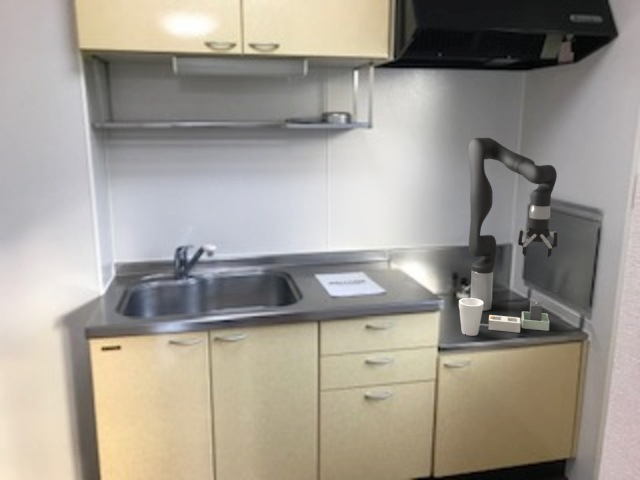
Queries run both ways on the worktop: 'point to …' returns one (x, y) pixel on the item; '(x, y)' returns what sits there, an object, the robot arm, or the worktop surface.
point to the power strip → (503, 323)
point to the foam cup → (470, 315)
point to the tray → (535, 322)
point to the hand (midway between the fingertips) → (536, 256)
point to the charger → (535, 311)
